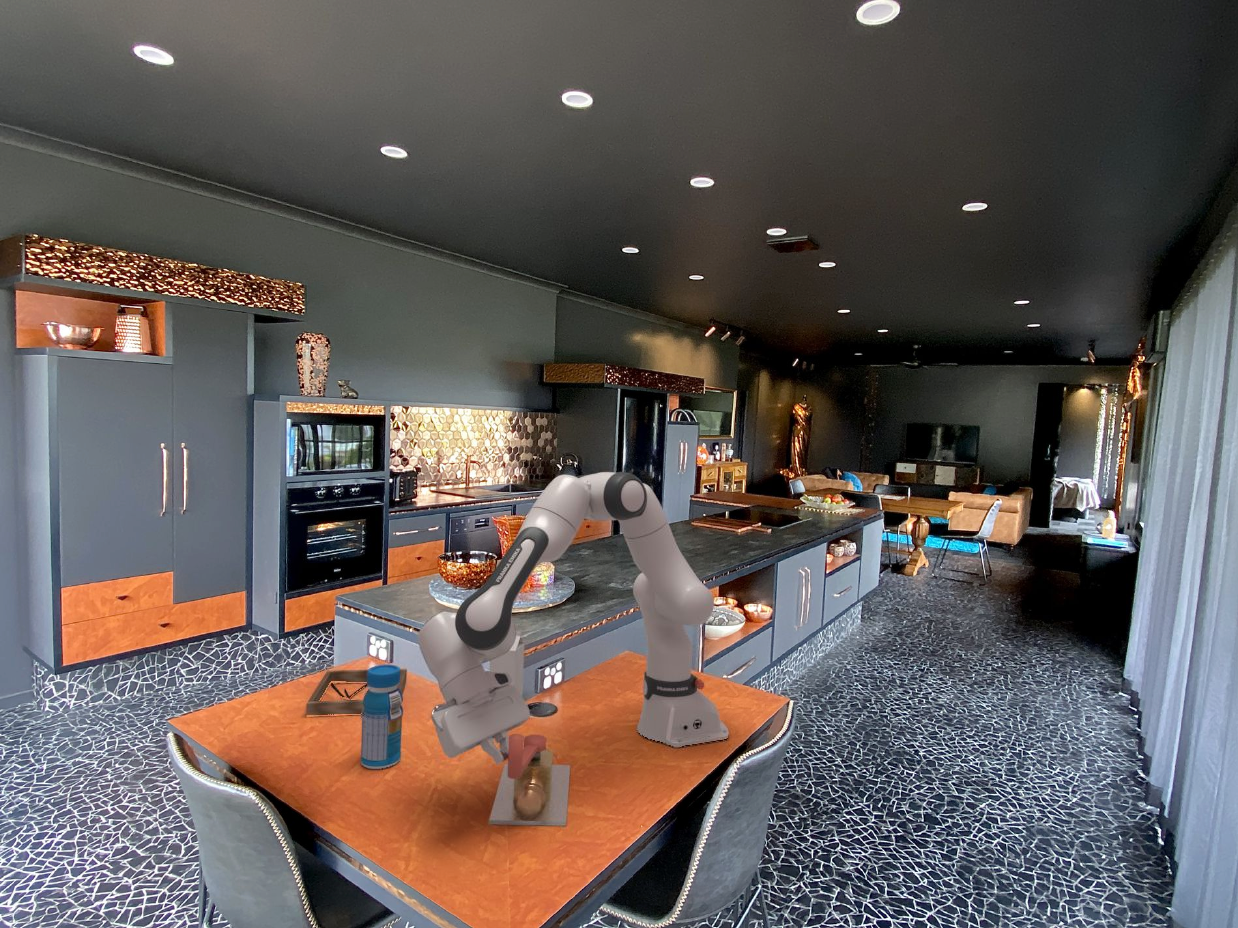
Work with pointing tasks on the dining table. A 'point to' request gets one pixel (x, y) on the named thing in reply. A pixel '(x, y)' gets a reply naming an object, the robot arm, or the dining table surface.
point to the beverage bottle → (382, 718)
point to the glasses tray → (345, 705)
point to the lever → (523, 752)
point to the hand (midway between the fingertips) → (505, 760)
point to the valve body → (533, 794)
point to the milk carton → (512, 663)
